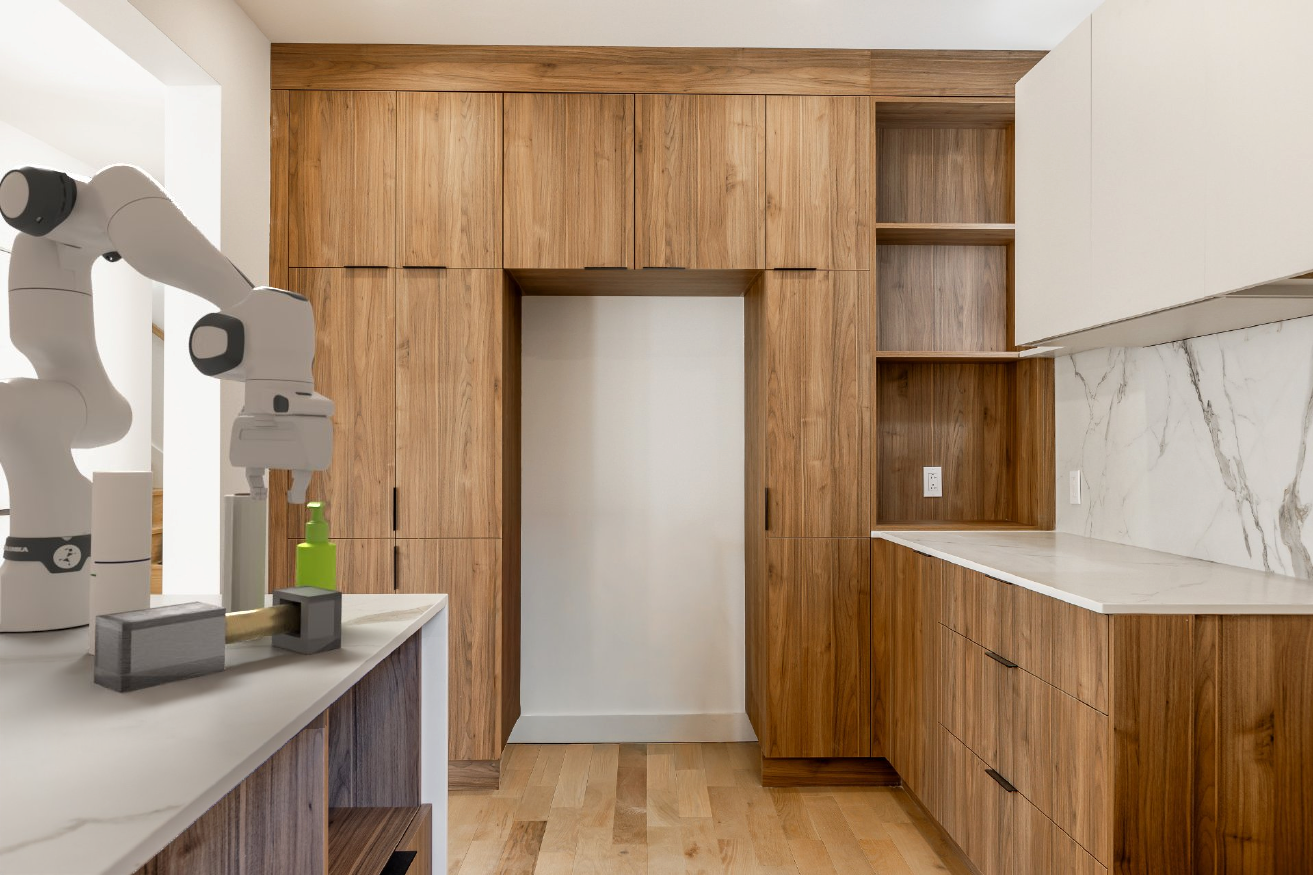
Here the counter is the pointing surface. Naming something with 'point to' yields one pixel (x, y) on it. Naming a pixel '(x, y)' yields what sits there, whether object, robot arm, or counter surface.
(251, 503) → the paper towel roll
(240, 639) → the brass slip tube
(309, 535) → the soap dispenser
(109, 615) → the grey sleeve
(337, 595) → the dark socket block
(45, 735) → the counter surface
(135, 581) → the cylindrical container
